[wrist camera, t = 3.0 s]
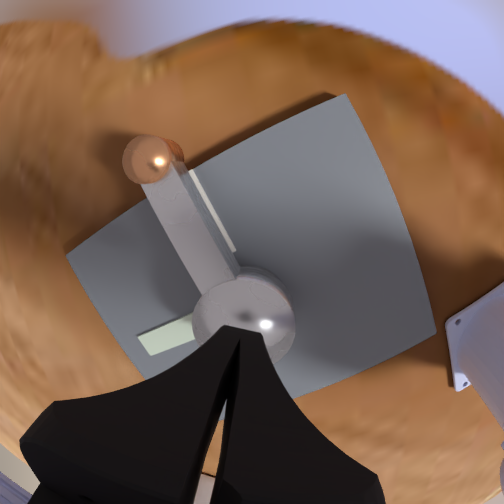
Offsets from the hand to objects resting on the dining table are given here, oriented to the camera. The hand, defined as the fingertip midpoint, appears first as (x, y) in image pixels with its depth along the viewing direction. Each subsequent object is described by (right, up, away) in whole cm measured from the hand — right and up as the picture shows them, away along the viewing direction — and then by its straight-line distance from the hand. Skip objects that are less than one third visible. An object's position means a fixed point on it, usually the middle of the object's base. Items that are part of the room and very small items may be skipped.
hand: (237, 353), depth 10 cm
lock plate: (0, +1, +8) cm, 9 cm away
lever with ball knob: (-1, +3, +6) cm, 7 cm away
